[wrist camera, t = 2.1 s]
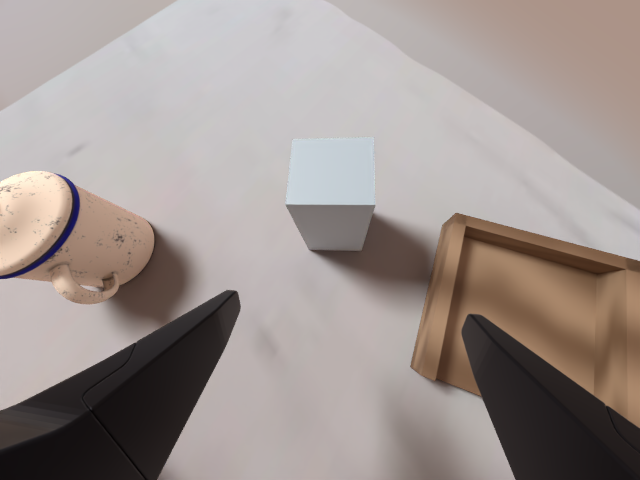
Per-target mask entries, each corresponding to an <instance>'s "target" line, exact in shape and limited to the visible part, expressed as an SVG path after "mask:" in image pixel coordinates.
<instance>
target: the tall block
mask: <svg viewBox="0 0 640 480" xmlns="http://www.w3.org/2000/svg"><path fill="white" fill-rule="evenodd" d="M285 205H286V207H287V209H288V210H289V212H290V214H291V216H292V218H293V220H294V222H295V224H296V226H297V228H298V230H299V232H300V233H301V235H302V237H303V239H304V241H305V243H306V245H307V247H308V249H309V250H339V251H362V248H363V245H364V241H365V238H366V234H367V231H368V228H369V224H370V221H371V218H372V214H373V211H374V208H375V170H374V137H354V138H315V139H293V140H292V149H291V158H290V167H289V176H288V185H287V194H286V203H285Z"/></svg>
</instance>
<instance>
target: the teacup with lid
mask: <svg viewBox="0 0 640 480" xmlns="http://www.w3.org/2000/svg"><path fill="white" fill-rule="evenodd" d="M153 248H154V233H153V230H152V228H151V226H150V224H149V223H148V222H147V221H146V220H145V219H143V218H142V217H140V216H138V215H136V214H134V213H132V212H130V211H127V210H125V209H123V208H121V207H119V206H117V205H115V204H113V203H111V202H109V201H107V200H105V199H103V198H101V197H98V196H96V195H94V194H92V193H90V192H88V191H86V190H84V189H82V188H80V187H78V186H76V185H74V184H73V183H72V182H71V181H70V180H69V179H67V178H66V177H64V176H61V175H59V174H55V173H50V172H43V171H31V172H25V173H21V174H17V175H14V176H12V177H10V178H7V179H5V180H3V181H2V182H0V279H7V278H13V277H14V278H23V279H32V280H40V281H49V282H52V284H53V286H54V287H55V289H56V290H57V291H58V292H59V293H60V294H61V295H62V296H63V297H65V298H66V299H68V300H70V301H72V302H75V303H80V304H96V303H100V302H103V301H105V300H107V299H109V298H110V297H112V296H113V295H114V294H115V293H116V292H117V291H118V288H119V285H121V284H124V283H126V282H128V281H129V280H131V279H132V278H134V277H135V276H136V275H138V274H139V273H140V272H141V271H142V269H143V268H144V267H145V266H146V264H147V263H148V261H149V259H150V257H151V255H152V252H153ZM80 285H85V286H94V287H103V288H104V291H102V292H95V291H90V290H87V289H85V288H83V287H81V286H80Z"/></svg>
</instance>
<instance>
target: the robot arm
mask: <svg viewBox="0 0 640 480" xmlns="http://www.w3.org/2000/svg"><path fill="white" fill-rule="evenodd" d="M240 308H241V306H240V300H239V295H238V292H237V291H234V290H226V291H224V292H223V293H221V294H219V295H217V296H216V297H214V298H212V299H210V300H209V301H207V302H205V303H203V304H202V305H200V306H198V307H196V308H195V309H193V310H191V311H189V312H188V313H186V314H184V315H182V316H181V317H179V318H177V319H175V320H174V321H172V322H170V323H168V324H167V325H165V326H163V327H161V328H160V329H158V330H156V331H154V332H153V333H151V334H149V335H147V336H146V337H144V338H142V339H140V340H139V341H137V343H133V344H132V345H130V346H128V347H126V348H125V349H123V350H121V351H119V352H117V353H116V354H114V355H112V356H110V357H108V358H107V359H105V360H103V361H101V362H99V363H97V364H95V365H93V366H92V367H90V368H88V369H86V370H84V371H82V372H80V373H78V374H76V375H74V376H72V377H70V378H68V379H66V380H64V381H62V382H60V383H58V384H56V385H54V386H52V387H50V388H48V389H46V390H44V391H42V392H41V393H39V394H37V395H35V396H33V397H31V398H29V399H27V400H25V401H22V402H20V403H18V404H16V405H14V406H11V407H9V408H6V409H4V410H1V411H0V480H157V478H158V476H159V474H160V473H161V471H162V469H163V467H164V465H165V463H166V461H167V459H168V457H169V455H170V453H171V451H172V449H173V448H174V446H175V444H176V442H177V440H178V438H179V436H180V434H181V432H182V430H183V428H184V426H185V424H186V422H187V421H188V419H189V417H190V415H191V413H192V411H193V409H194V407H195V405H196V403H197V401H198V399H199V397H200V395H201V394H202V392H203V390H204V388H205V386H206V384H207V382H208V380H209V378H210V376H211V374H212V372H213V370H214V368H215V367H216V365H217V363H218V361H219V359H220V357H221V355H222V353H223V351H224V349H225V347H226V345H227V342H228V340H229V338H230V335H231V333H232V330H233V327H234V325H235V322H236V320H237V317H238V315H239V312H240ZM461 335H462V339H463V342H464V345H465V349H466V352H467V356H468V359H469V363H470V366H471V369H472V373H473V376H474V379H475V381H476V384H477V386H478V389H479V391H480V394H481V396H482V399H483V401H484V403H485V406H486V408H487V411H488V413H489V416H490V418H491V421H492V423H493V425H494V428H495V430H496V433H497V435H498V438H499V440H500V443H501V445H502V448H503V450H504V452H505V455H506V457H507V460H508V462H509V465H510V467H511V470H512V472H513V475H514V477H515V479H516V480H640V428H639V427H637V426H636V425H635V424H633V423H632V422H630V421H629V420H628V419H626V418H625V417H623V416H622V415H621V414H619V413H618V412H616V411H615V410H614V409H612V408H611V407H609V406H606V405H605V403H604V402H602V401H601V400H600V399H598V398H597V397H595V396H594V395H593V394H591V393H590V392H588V391H587V390H586V389H584V388H583V387H581V386H580V385H579V384H577V383H576V382H575V381H573V380H572V379H570V378H569V377H568V376H566V375H565V374H563V373H562V372H561V371H559V370H558V369H556V368H555V367H554V366H552V365H551V364H549V363H548V362H547V361H545V360H544V359H542V358H541V357H540V356H538V355H537V354H535V353H534V352H533V351H531V350H530V349H529V348H527V347H526V346H524V345H523V344H522V343H520V342H519V341H517V340H516V339H515V338H513V337H512V336H510V335H509V334H508V333H506V332H505V331H503V330H502V329H501V328H499V327H498V326H496V325H495V324H494V323H492V322H491V321H490V320H488V319H487V318H485V317H484V316H482V315H480V314H468V315H467V317H466V319H465V322H464V324H463V327H462V330H461Z"/></svg>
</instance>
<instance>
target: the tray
mask: <svg viewBox="0 0 640 480" xmlns="http://www.w3.org/2000/svg"><path fill="white" fill-rule="evenodd" d="M468 314H480V315H482V316H484V317H485V318H487V319H488V320H490V321H491V322H492V323H494V324H495V325H496V326H498V327H499V328H501V329H502V330H503V331H505V332H506V333H508V334H509V335H510V336H512V337H513V338H515V339H516V340H517V341H519V342H520V343H522V344H523V345H524V346H526V347H527V348H529V349H530V350H531V351H533V352H534V353H535V354H537V355H538V356H540V357H541V358H542V359H544V360H545V361H547V362H548V363H549V364H551V365H552V366H554V367H555V368H556V369H558V370H559V371H561V372H562V373H563V374H565V375H566V376H568V377H569V378H570V379H572V380H573V381H575V382H576V383H577V384H579V385H580V386H581V387H583V388H584V389H586V390H587V391H588V392H590V393H591V394H593V395H594V396H595V397H597V398H598V399H600V400H601V401H602V402H604V403H605V405H606V406H609V407H611V408H612V409H614V410H615V411H616V412H618V413H619V414H621V415H622V416H623V417H625V418H626V419H628V420H629V421H630V422H632V423H633V424H635V425H636V426H637V427H639V428H640V261H637V260H633V259H630V258H626V257H622V256H618V255H614V254H611V253H607V252H603V251H599V250H595V249H592V248H588V247H584V246H580V245H576V244H573V243H569V242H565V241H561V240H558V239H554V238H550V237H546V236H542V235H539V234H535V233H531V232H527V231H523V230H520V229H516V228H512V227H508V226H504V225H501V224H497V223H493V222H489V221H485V220H482V219H478V218H474V217H470V216H466V215H463V214H459V213H455V214H454V215H453V216H452V217H451V218H450V219H449V220H448V221H446V222H445V223H444V224H443V225H442V229H441V234H440V238H439V242H438V247H437V251H436V256H435V260H434V264H433V269H432V273H431V278H430V282H429V286H428V291H427V295H426V300H425V304H424V308H423V313H422V317H421V322H420V326H419V330H418V335H417V339H416V344H415V348H414V353H413V357H412V361H411V366H410V367H411V368H412V369H414V370H415V371H416V372H418V373H419V374H420V375H421V376H424V377H426V378H429V379H431V380H434V381H435V380H436V378H437V379H439V380H442V381H444V382H447V383H449V384H452V385H454V386H457V387H459V388H462V389H464V390H467V391H469V392H472V393H474V394H477V395H479V396H481V394H480V391H479V389H478V386H477V384H476V381H475V379H474V376H473V373H472V369H471V366H470V363H469V359H468V356H467V352H466V349H465V345H464V342H463V339H462V335H461V330H462V327H463V324H464V322H465V319H466V317H467V315H468Z"/></svg>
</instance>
